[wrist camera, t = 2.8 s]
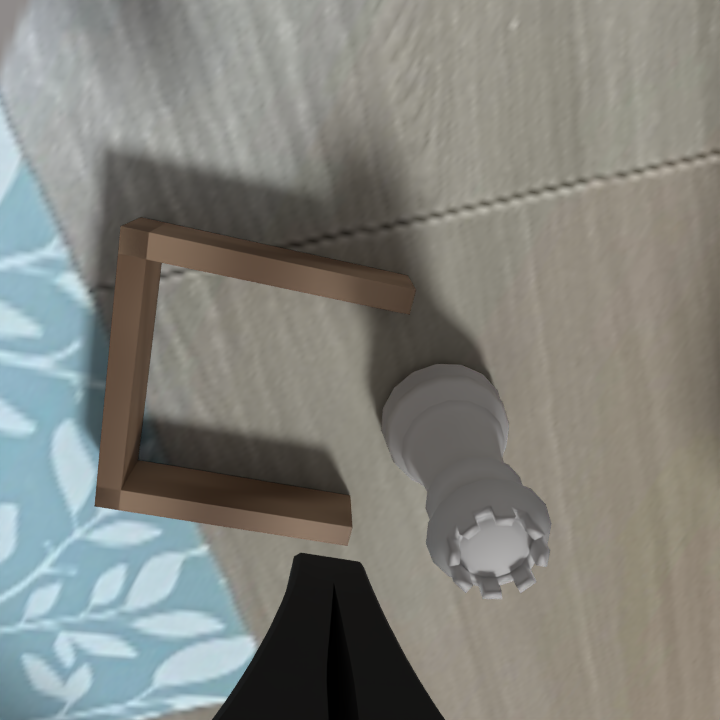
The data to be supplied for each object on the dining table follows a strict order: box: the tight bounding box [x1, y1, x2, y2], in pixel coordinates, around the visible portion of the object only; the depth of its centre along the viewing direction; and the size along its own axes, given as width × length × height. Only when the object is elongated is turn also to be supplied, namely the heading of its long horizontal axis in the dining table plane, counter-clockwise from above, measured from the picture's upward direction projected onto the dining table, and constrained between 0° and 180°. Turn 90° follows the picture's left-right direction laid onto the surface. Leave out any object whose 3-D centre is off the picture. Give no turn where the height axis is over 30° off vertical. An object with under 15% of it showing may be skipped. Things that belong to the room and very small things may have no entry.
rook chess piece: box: [381, 364, 551, 599], centre depth 18 cm, size 4×4×8 cm
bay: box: [95, 217, 416, 546], centre depth 20 cm, size 9×10×2 cm
